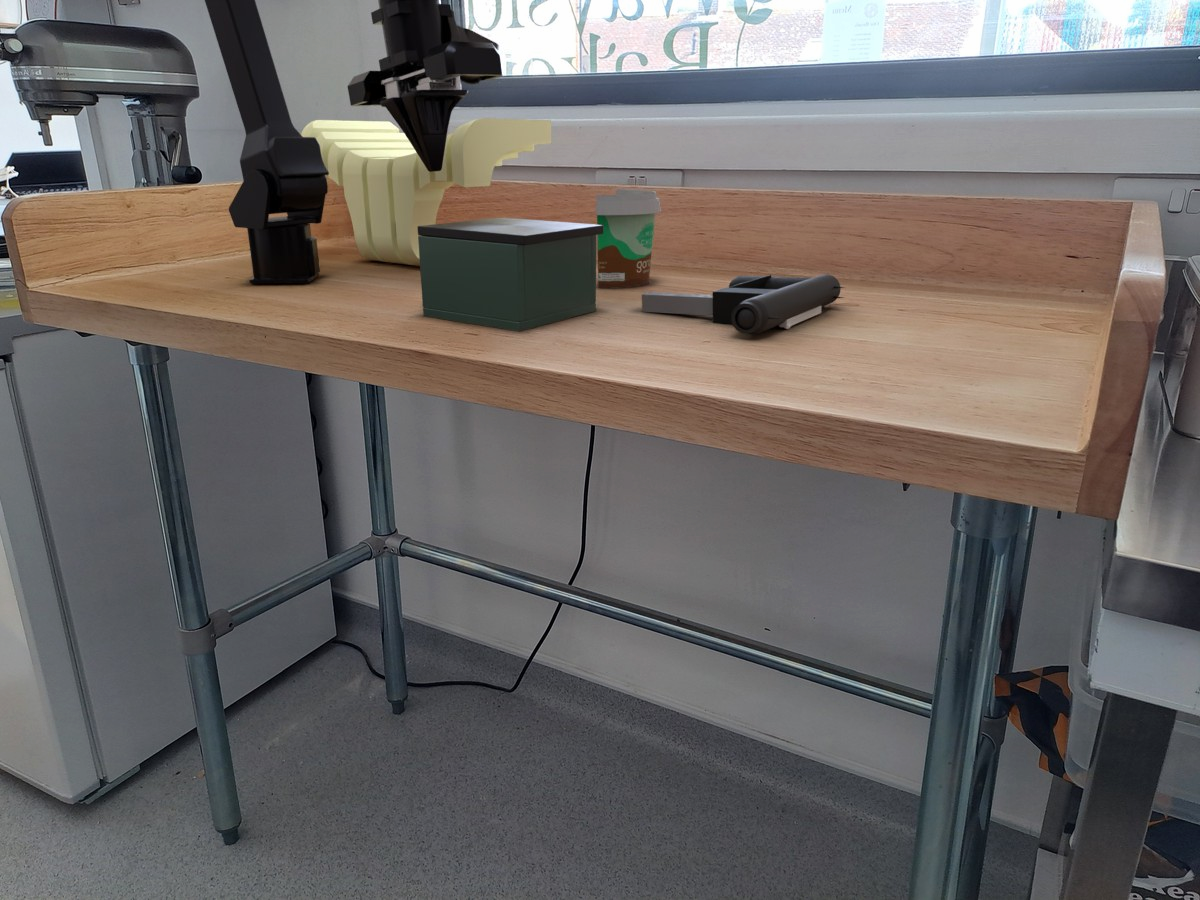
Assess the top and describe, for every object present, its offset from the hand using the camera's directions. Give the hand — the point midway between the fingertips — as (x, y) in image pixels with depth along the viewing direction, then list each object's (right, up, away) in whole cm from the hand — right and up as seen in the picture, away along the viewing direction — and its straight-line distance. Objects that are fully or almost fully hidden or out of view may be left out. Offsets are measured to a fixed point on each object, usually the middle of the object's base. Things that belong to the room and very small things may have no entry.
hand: (435, 171), depth 84 cm
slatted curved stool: (-7, -2, +32) cm, 32 cm away
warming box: (+8, -15, -3) cm, 17 cm away
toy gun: (+29, -15, -3) cm, 33 cm away
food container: (+20, -8, +15) cm, 26 cm away
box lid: (+8, -8, -6) cm, 13 cm away
